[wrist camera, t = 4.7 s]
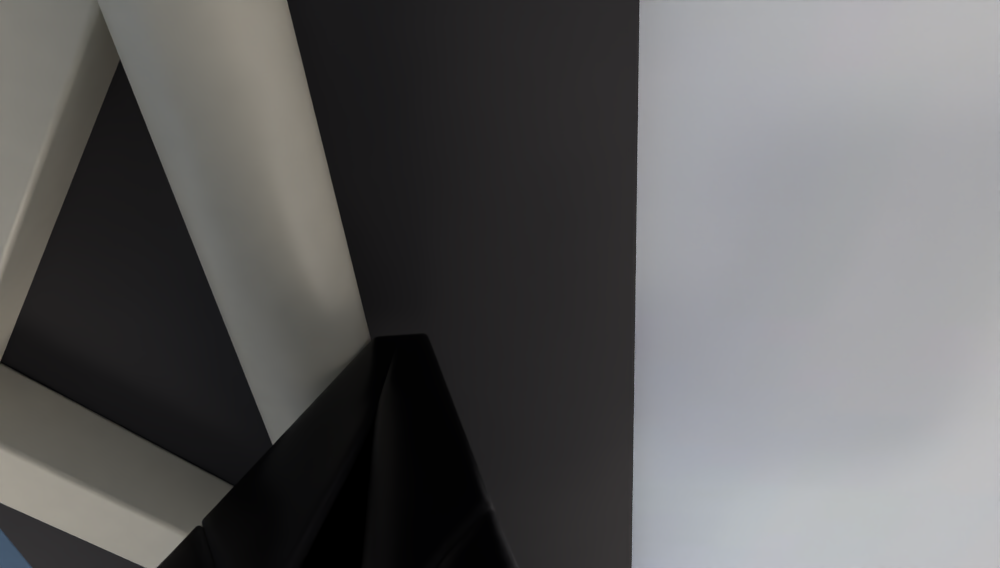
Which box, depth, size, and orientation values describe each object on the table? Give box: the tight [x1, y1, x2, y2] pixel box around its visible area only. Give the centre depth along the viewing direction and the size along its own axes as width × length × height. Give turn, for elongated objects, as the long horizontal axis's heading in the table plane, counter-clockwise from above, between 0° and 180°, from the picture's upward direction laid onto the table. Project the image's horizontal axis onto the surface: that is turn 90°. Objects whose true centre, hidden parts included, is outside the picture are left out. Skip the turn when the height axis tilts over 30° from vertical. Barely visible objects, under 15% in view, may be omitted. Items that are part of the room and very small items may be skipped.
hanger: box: [0, 0, 371, 568], centre depth 9 cm, size 14×9×2 cm, turn 5°
